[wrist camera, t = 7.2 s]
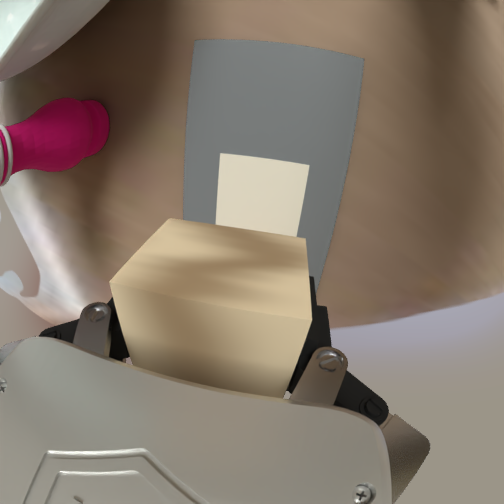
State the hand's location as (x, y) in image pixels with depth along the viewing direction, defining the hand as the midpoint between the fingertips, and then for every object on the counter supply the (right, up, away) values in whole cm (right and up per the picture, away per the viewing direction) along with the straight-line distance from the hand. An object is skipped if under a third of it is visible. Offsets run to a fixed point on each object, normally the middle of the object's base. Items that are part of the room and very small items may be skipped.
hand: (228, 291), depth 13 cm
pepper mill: (-16, +15, +10) cm, 24 cm away
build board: (+2, +8, +11) cm, 14 cm away
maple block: (0, 0, 0) cm, 1 cm away
